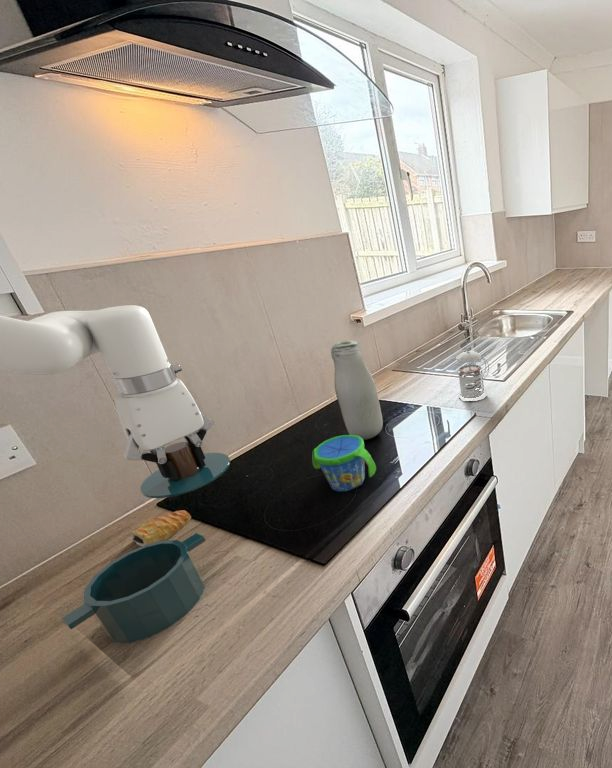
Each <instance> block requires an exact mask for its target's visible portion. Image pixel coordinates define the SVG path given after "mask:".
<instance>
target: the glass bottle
mask: <svg viewBox="0 0 612 768" xmlns="http://www.w3.org/2000/svg"><path fill="white" fill-rule="evenodd" d="M362 351H363V350H362V349H361V347H360V344H359V342H357V341H355V340H342V341H339V342H336V343H335V344H333V345H332V347H331V350H330V353H331V354H330V356H331V358H332V360H333V366H334V392H335V395H336V398H337V402H338V406H339V408H340V412H341V416H342V419H343V422H344V425H345V428H346V430H347V433H348V435H356V436H359V437H361V438H362V439H363V441H366V440H370V439H373V438H374V437H376V436H377V435H379V434H380V433H381V431H382V430H383V427H384V426H383V425H384V420H383V414H382V410H381V404H380V400H379V395H378V391H377V390H378V389H377V386H376V383H375V380H374V377H373V375H372V373H371V372H370V370H369V369H368V367H367V365H366V362H365V361H364V358H363V355H362V354H363V353H362Z"/></svg>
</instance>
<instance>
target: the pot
mask: <svg viewBox="0 0 612 768" xmlns="http://www.w3.org/2000/svg"><path fill="white" fill-rule="evenodd" d="M206 541H207V540H206V538H205V536H203V535H202V534H200V533H197V532H195V533H193V534H192V535H190V536H189V537H187V538H186V539H184V540H183V541H181V540H178V539H167V540H163V541H159V542H155V543H150V544H147V545H144V546H139V547H137V548H135V549H132V550H130V551H128V552H126V553H124V554H123V555H121V556H119V557H118V558H116V559H115V560H112V561H111V562H109V563H108V564H106V565H105V566H104V567H103V568H102V569H101V570H99V571H97V573H95V574H94V576H93V577H92V578H91V579H90V581H89V582H88V584H87V585H86V586H85V587H84V589H83V595H82V601H83V602H84V603H83V604H82V605H80V606H78V607H77V608H75V609H74V610H72V611H71V612H68V613H66V615H64V616H62V617H61V618H60V620H61V621H62V623H63V624H64V625H65V626H66V627H68V629H70V630H73V629H74V628H76V627H77V626H79V625H81V624H82V623H84V622H85V621H86V620H88V619H90V618H91V617H92V616H93V617H94V618H95V620H96V622H97V623H98V624H99V626H100V628H101V629H102V630H103V631H104V633H105V635H106V636H107V637H108V638H109V639H110V640H111V641H113V643H116V644H117V643H119V644H122V643H123V644H132V643H135V642H138V641H141V640H145V639H148V638H151V637H154V636H155V635H157V634H159V633H161V632H163V631H164V630H167V629H168V628H170V627H172V626H173V625H174V624H176V623H177V622H178V621H179V620H181V619H182V618H183V617H185V616H186V615H187V614H188V613H189V612H190V611H191V610H192V609H193V608H194V607H195V606H196V604H197V603H198V602H199V601H200V599H201V597H202V595H203V593H204V591H205V587H206V585H205V582H204V577H203V575H202V574H201V571H200V570H199V568H198V566H197V564H196V561H195V560H194V558H193V555H192V553H191V551H193V550H194V549H196V548H197V547H199V546H200V545H202V544H203V543H205V542H206Z"/></svg>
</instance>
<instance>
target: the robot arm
mask: <svg viewBox="0 0 612 768" xmlns="http://www.w3.org/2000/svg"><path fill="white" fill-rule="evenodd" d="M96 353H97V354H98V353H100V354H101V357H102V358H103V361H104V363H105V365H106V366H107V369H108V371H109V373H110V375H111V377H112V380H113V382H114V384H115V386H116V388H117V390H118V394H116V395H115V396H114V404H115V408H116V412H117V416H118V419H119V423H120V425H121V428H122V431H123V433H124V435H125V438H126V440H127V443H126V446H125V449H124V452H123V459H125V460H127V461H145V462H151V463H155V464H156V466H157V468H158V470H160V472H161V474H162V476H163V477H164V478H169V479H171V480H174V481H176V480H178V478H179V476H178V474H177V472H176V470H175V467H174V465H173V463H172V461H170V460H168V459H167V457H166V453H165V448H166V447H165V446H167V445H169V444H171V443H173V442H176V441H178V440H180V439H182V438H183V439H184V440H185V442H188V443H189V445H190V448H191V450H192V452H193V455H194V457H195V459H196V462H197V464H198V466H199V467H204V466H205V462H204V459H205V456H204V451H203V449H202V446H203V440H204V438H205V437H206V435H207V432H208V431H209V430H210V428H211V427H212V426H213V425H214V420H213V419H211V418H210V417H208V416H206V415H204V414H203V413H201V411H200V409H199V407H198V404H197V403H196V400H195V399H194V397H193V395H192V394H191V393H190V391H189V390H188V387H186V385H185V383H184V382H183V381H182V380H181V379H180V378H178V377H177V374H178V373H180V372H183V371H182V370H183V369H182V366H181V365H180V364H179V363H176V364H172V363H170V361H169V358H168V356H167V353H166V351H165V348H164V346H163V344H162V341H161V339H160V336H159V334H158V331H157V329H156V327H155V324H154V321H153V320H152V317H151V315H150V313H149V311H148V309H146V307H143V306H140V305H134V304H128V305H118V306H111V307H105V308H100V309H92V310H60V311H59V310H57V311H51V312H49V313H45V314H43V315H40V316H36V317H34V318H32V319H29V320H24V319H18V318H15V317H11V316H10V317H9V316H5V315H1V314H0V371H4V372H10V373H15V374H16V373H17V374H22V375H23V374H24V375H34V376H35V375H36V376H39V375H40V376H41V375H42V376H43V375H45V376H46V375H55V374H59V373H62V372H65V371H68V370H69V369H71V368H72V367H74V366H75V365H76V364H78V363H79V362H81V361H82V360H84V359H87V358H88V357H90V356H92V355H94V354H96ZM139 449H141V450H142V451H139Z"/></svg>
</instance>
